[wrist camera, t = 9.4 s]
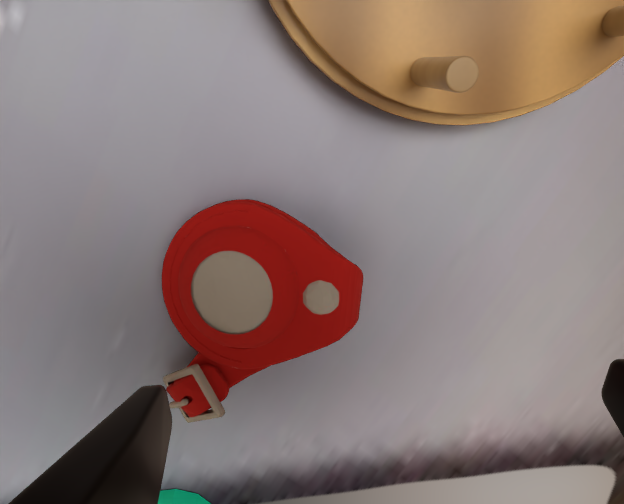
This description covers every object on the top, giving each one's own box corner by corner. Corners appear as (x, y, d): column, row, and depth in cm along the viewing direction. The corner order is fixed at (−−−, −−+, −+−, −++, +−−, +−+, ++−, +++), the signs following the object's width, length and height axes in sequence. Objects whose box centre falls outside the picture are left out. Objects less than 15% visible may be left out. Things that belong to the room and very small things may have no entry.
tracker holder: (140, 193, 18) (367, 213, 17) (187, 189, 23) (371, 206, 21) (140, 439, 21) (340, 479, 19) (182, 394, 25) (349, 423, 23)
